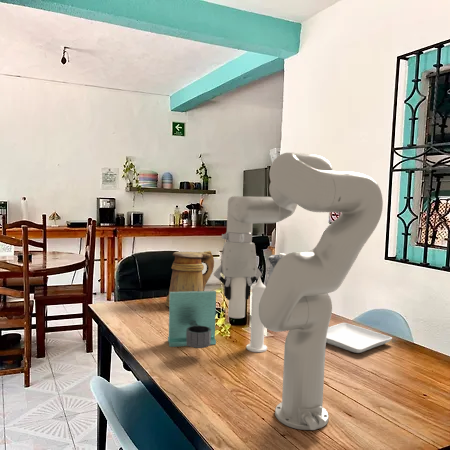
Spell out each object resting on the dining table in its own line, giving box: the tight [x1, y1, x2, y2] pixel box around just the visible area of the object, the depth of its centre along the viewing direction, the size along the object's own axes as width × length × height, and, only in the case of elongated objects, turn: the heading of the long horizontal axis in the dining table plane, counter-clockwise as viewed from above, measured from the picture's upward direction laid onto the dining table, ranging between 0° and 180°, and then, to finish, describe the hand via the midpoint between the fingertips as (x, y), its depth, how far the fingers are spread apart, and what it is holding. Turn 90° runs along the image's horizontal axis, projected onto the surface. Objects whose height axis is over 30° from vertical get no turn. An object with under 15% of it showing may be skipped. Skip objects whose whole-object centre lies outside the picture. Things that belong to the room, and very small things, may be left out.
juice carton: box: [265, 252, 287, 286], centre depth 191 cm, size 9×10×27 cm
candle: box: [246, 276, 268, 353], centre depth 148 cm, size 7×7×25 cm
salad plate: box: [326, 322, 393, 354], centre depth 158 cm, size 21×21×3 cm
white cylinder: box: [227, 277, 246, 319], centre depth 131 cm, size 5×5×14 cm
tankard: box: [165, 250, 215, 308], centre depth 202 cm, size 18×24×25 cm
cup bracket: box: [167, 290, 217, 349], centre depth 145 cm, size 20×16×18 cm
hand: (237, 298), depth 131 cm, fingers closed on white cylinder, 5 cm apart
